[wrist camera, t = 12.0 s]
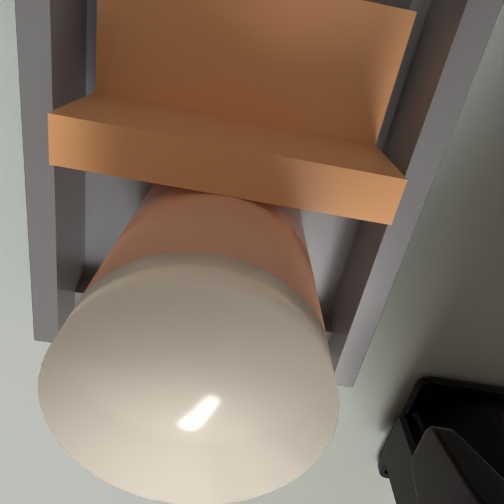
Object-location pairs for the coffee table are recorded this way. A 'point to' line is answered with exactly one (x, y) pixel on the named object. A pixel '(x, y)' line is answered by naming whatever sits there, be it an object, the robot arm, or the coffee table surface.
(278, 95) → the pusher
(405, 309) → the coffee table surface
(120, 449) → the jar
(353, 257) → the lane
